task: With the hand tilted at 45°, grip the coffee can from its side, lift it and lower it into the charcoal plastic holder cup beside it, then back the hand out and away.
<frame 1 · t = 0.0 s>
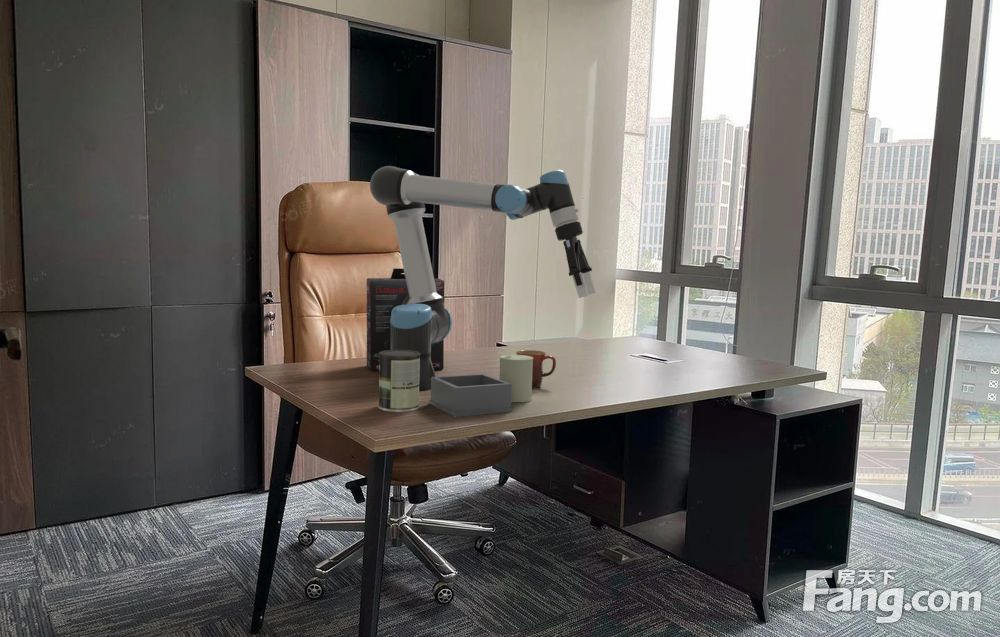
hand: (587, 295, 210), 28 cm above the table, tool tilted 20°, fingers open, 13 cm apart
mug: (535, 387, 217), on the table
can: (515, 399, 199), on the table
holder: (470, 407, 187), on the table
coffee can: (398, 408, 184), on the table
headset box: (404, 368, 243), on the table
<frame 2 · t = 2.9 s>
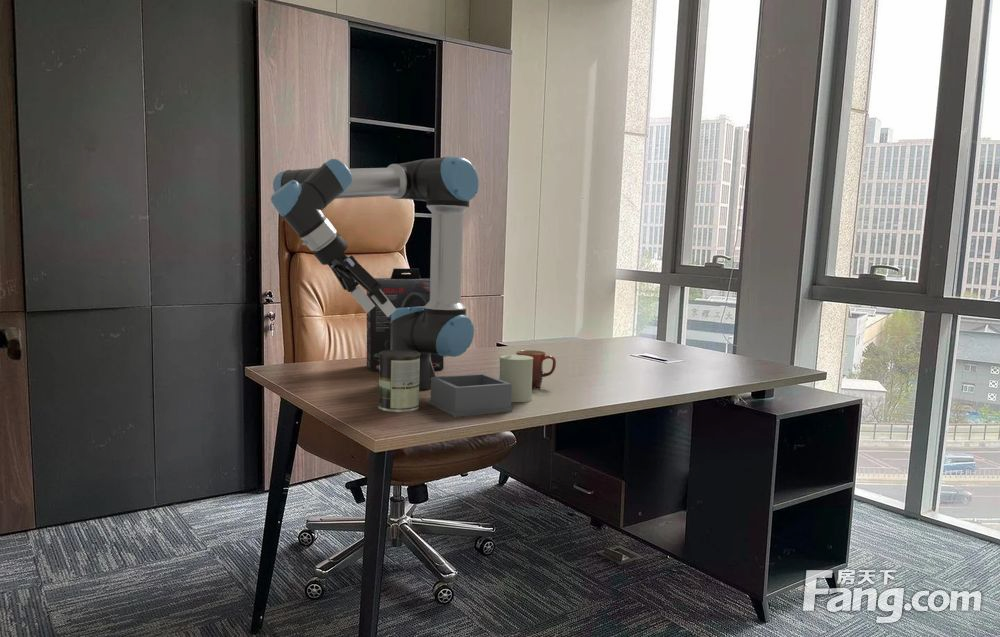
hand: (381, 311, 177), 25 cm above the table, tool tilted 40°, fingers open, 13 cm apart
nothing on the table moved.
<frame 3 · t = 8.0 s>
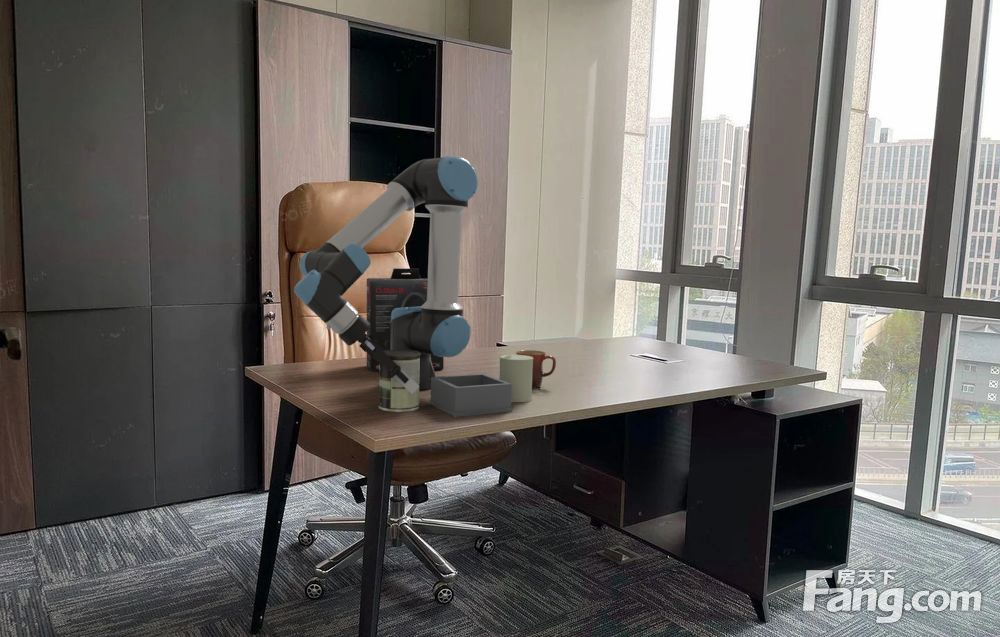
hand: (411, 385, 185), 5 cm above the table, tool tilted 45°, fingers closed on coffee can, 10 cm apart
coffee can: (399, 408, 184), on the table, touching gripper
everything else where it was.
when the fingers open (8 cm above the table, at t = 13.5 s): coffee can drops 2 cm, resting on holder.
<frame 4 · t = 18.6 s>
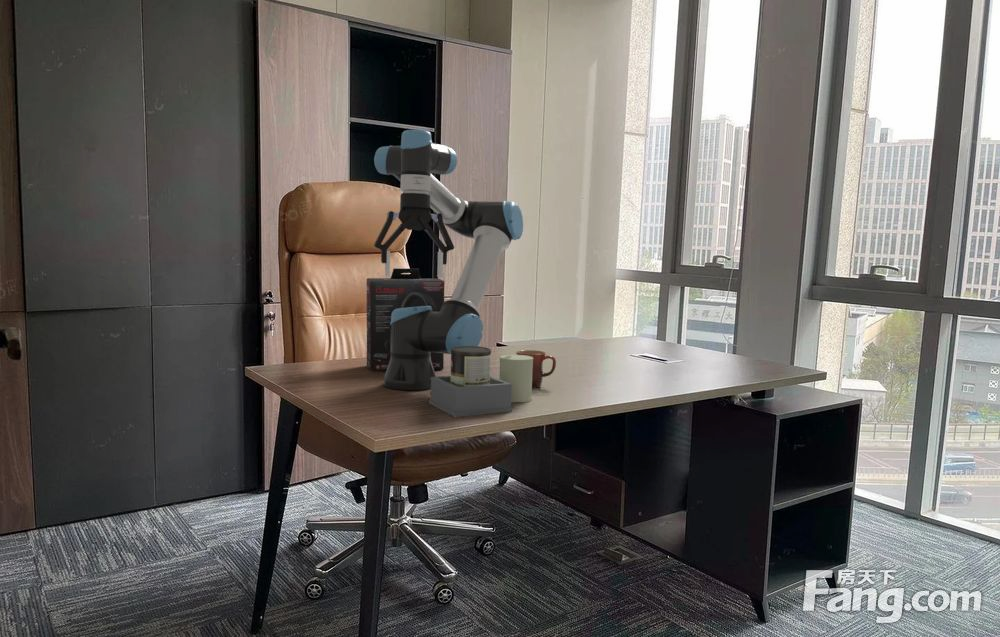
hand: (413, 277, 187), 33 cm above the table, tool pointing down, fingers open, 13 cm apart
coffee can: (469, 404, 187), point 1 cm above the table, touching holder
everything else where it was.
at the end: coffee can 0.2 cm off-centre on the holder, point 0.8 cm above the holder's base; coffee can tilted 0°; the gripper is holding nothing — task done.
